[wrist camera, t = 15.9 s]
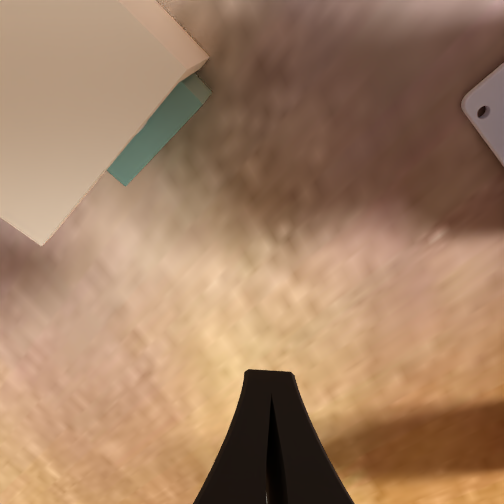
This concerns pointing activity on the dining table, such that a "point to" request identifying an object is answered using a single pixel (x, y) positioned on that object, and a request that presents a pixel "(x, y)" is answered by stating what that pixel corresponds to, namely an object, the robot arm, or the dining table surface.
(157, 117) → the teal block
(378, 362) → the dining table surface
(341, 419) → the dining table surface
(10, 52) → the beige flanged peg
